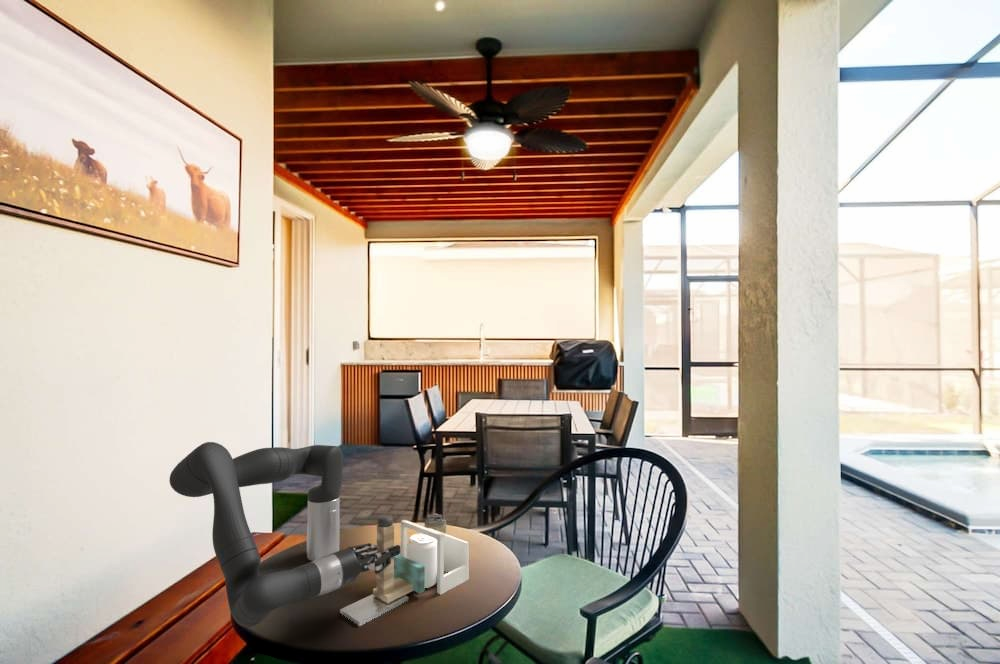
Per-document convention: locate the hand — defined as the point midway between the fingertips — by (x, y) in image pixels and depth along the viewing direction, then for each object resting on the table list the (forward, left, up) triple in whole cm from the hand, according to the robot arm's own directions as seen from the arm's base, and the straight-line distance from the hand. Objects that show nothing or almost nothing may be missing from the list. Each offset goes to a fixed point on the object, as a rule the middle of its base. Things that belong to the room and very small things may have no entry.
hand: (394, 547), depth 118 cm
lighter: (-15, +27, -13) cm, 34 cm away
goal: (0, +13, -12) cm, 18 cm away
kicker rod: (0, 0, -11) cm, 11 cm away
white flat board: (0, -6, -12) cm, 14 cm away
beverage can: (0, +9, -13) cm, 16 cm away
